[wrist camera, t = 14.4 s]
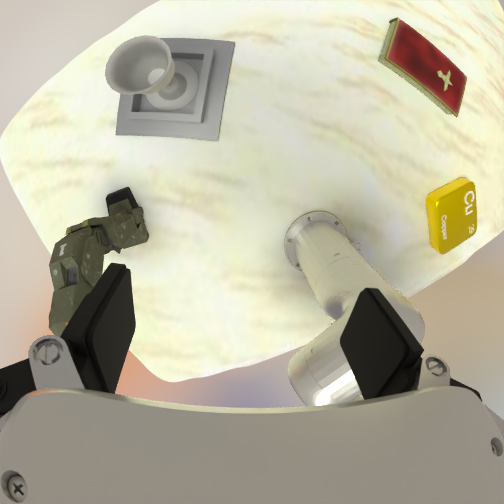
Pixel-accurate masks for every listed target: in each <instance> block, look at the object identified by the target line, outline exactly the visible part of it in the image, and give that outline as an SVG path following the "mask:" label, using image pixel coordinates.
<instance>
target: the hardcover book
mask: <svg viewBox="0 0 504 504" xmlns="http://www.w3.org/2000/svg"><path fill="white" fill-rule="evenodd" d="M389 23H391V24H390V27H389V30H388V33H387V36H386V40H385V43H384V46H383V49H382V52H381V54H380V57H379V60H378V61H379V62H380V63H382V64H383V65H385V66H386V67H388V68H389V69H391V70H392V71H394V72H395V73H397V74H398V75H399V76H401V77H402V78H404V79H405V80H406V81H408V82H409V83H410V84H412V85H413V86H414V87H416V88H417V89H418V90H419V91H421V92H422V93H423V94H424V95H426V96H427V97H428V98H429V99H430V100H432V101H433V102H434V103H435V104H436V105H437V106H439V107H440V108H441V109H442V110H443V111H444V112H445V113H446V114H454V115H455V116H456V117H458V113H459V110H460V106H461V102H462V98H463V94H464V90H465V85H466V81H467V77H466V76H465V75H464V74H463V73H462V72H461V71H460V69H459V68H458V67H457V66H456V65H454V64H453V63H452V62H451V61H450V60H449V59H448V58H447V57H446V56H445V55H444V54H443V53H442V52H441V51H440V50H438V49H437V48H436V47H435V46H434V45H433V44H432V43H430V42H429V41H428V40H427V39H426V38H424V37H423V36H422V35H421V34H419V33H418V32H417V31H416V30H414V29H413V28H412V27H410V26H409V25H408V24H406V23H405V22H403V21H402V20H401V19H399V18H394V19H392V20H391V21H389Z"/></svg>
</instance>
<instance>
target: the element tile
mask: <svg viewBox="0 0 504 504" xmlns="http://www.w3.org/2000/svg"><path fill="white" fill-rule="evenodd" d="M426 210H427V217H428V225H429V234H430V244H431V246H432V247H433V248H434V249H435V250H436V251H438V252H439V253H440V254H445V253H447V252H448V251H450V250H452V249H453V248H455V247H456V246H458V245H459V244H461V243H462V242H464V241H465V240H467V239H468V238H470V237H471V236H473V235H474V234H475V232H476V229H477V207H476V191H475V185H474V183H473V182H472V181H470V180H467V179H465V178H458V179H456V180H454V181H452V182H450V183H448V184H446V185H444V186H443V187H441V188H439V189H437V190H435V191H433V192H431V193H429V194H428V196H427V198H426Z"/></svg>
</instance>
